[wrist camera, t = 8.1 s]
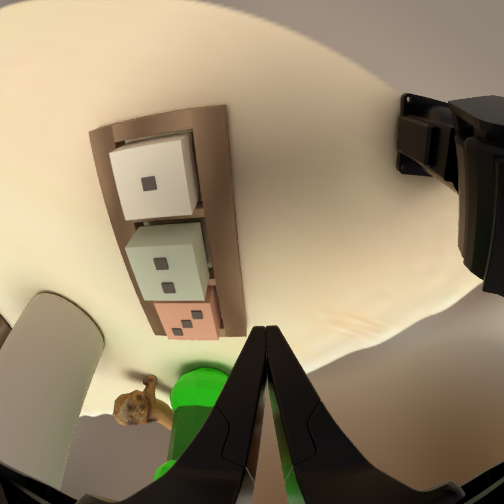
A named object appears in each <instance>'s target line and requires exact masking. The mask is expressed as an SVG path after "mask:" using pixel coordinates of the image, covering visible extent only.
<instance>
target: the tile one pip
mask: <svg viewBox="0 0 504 504" xmlns="http://www.w3.org/2000/svg"><path fill="white" fill-rule="evenodd" d="M109 155H110V160H111V165H112V169H113V174H114V178H115V182H116V186H117V190H118V194H119V198H120V202H121V206H122V210H123V213H124V217H125V220H136V219H146V218H157V217H169V216H182V215H192V214H193V212H194V209H195V207H196V205H197V203H198V200H199V198H200V194H199V187H198V180H197V172H196V165H195V157H194V150H193V141H192V133H191V132H189V133H182V134H175V135H168V136H162V137H156V138H150V139H145V140H139V141H134V142H130V143H126V144H125V145H123V146H121V147H119V148H117V149H115V150H114V151H112V152H110V153H109Z"/></svg>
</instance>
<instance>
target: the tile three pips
mask: <svg viewBox="0 0 504 504" xmlns="http://www.w3.org/2000/svg"><path fill="white" fill-rule="evenodd" d="M154 305H155V308H156V310H157V313H158V315H159V318H160V320H161V322H162V325H163V327H164V330H165V332H166V334H167V336H168V339H178V340H218V339H219V330H220V321H221V315H220V310H219V305H218V300H217V294H216V289H215V285H209V286H207V291H206V296H205V301H154Z"/></svg>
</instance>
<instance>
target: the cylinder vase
mask: <svg viewBox="0 0 504 504" xmlns="http://www.w3.org/2000/svg"><path fill="white" fill-rule="evenodd" d="M103 348H104V342H103V338H102V335H101V333H100V331H99V329H98V328H97V326H96V325H95V324H94V322H93V321H92V320H91V319H90V318H89V317H88V316H87V315H86V314H85V313H84V312H83V311H82V310H80V309H79V308H78V307H77V306H75V305H74V304H72V303H71V302H69V301H67V300H66V299H64V298H62V297H59V296H57V295H54V294H50V293H40V294H37V295H35V296H34V297H33V298H32V300H31V301H30V302H29V304H28V305H27V307H26V308H25V310H24V311H23V313H22V314H21V316H20V317H19V319H18V321H17V322H16V324H15V325H14V327H13V329H12V330H11V332H10V334H9V335H8V337H7V339H6V340H5V342H4V344H3V346H2V347H1V349H0V461H2V462H4V463H5V464H7V465H9V466H11V467H13V468H15V469H17V470H19V471H21V472H23V473H25V474H27V475H29V476H31V477H34V478H36V479H38V480H40V481H42V482H44V483H46V484H48V485H51V486H53V487H55V488H57V489H59V490H60V489H61V484H62V479H63V474H64V470H65V465H66V461H67V457H68V453H69V449H70V445H71V442H72V438H73V435H74V431H75V427H76V424H77V421H78V418H79V415H80V412H81V409H82V406H83V403H84V400H85V397H86V394H87V391H88V388H89V385H90V383H91V380H92V377H93V374H94V372H95V369H96V367H97V364H98V361H99V359H100V356H101V354H102V351H103Z"/></svg>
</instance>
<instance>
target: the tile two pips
mask: <svg viewBox="0 0 504 504" xmlns="http://www.w3.org/2000/svg"><path fill="white" fill-rule="evenodd" d="M125 250H126V253H127V256H128V259H129V261H130V264H131V267H132V270H133V272H134V275H135V278H136V280H137V283H138V286H139V288H140V291H141V293H142V296H143V298H144V300H148V301H205V296H206V291H207V286H208V281H209V276H210V275H209V270H208V265H207V259H206V254H205V248H204V243H203V237H202V231H201V225H200V222H196V223H182V224H168V225H155V226H143V227H139V228H138V229H137V231H136V232H135V233H134V235H133V236H132V238H131V239H130V241H129V242H128V244H127V245H126V247H125Z"/></svg>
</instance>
